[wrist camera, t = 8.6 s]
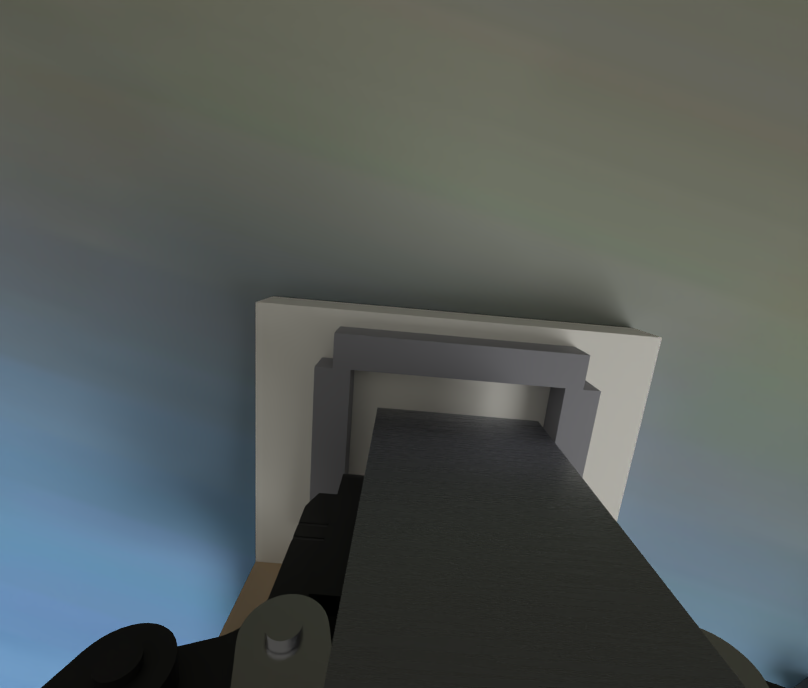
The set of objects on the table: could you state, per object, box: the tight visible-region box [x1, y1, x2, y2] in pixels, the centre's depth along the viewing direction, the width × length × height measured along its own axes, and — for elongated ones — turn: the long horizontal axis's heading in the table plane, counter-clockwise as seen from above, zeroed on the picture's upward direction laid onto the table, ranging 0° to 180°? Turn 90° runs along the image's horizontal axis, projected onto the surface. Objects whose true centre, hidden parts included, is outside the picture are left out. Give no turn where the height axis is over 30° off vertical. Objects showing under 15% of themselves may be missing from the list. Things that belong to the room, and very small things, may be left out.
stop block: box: [324, 407, 746, 688], centre depth 8 cm, size 4×4×7 cm
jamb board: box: [219, 296, 662, 636], centre depth 12 cm, size 20×12×6 cm, turn 175°
